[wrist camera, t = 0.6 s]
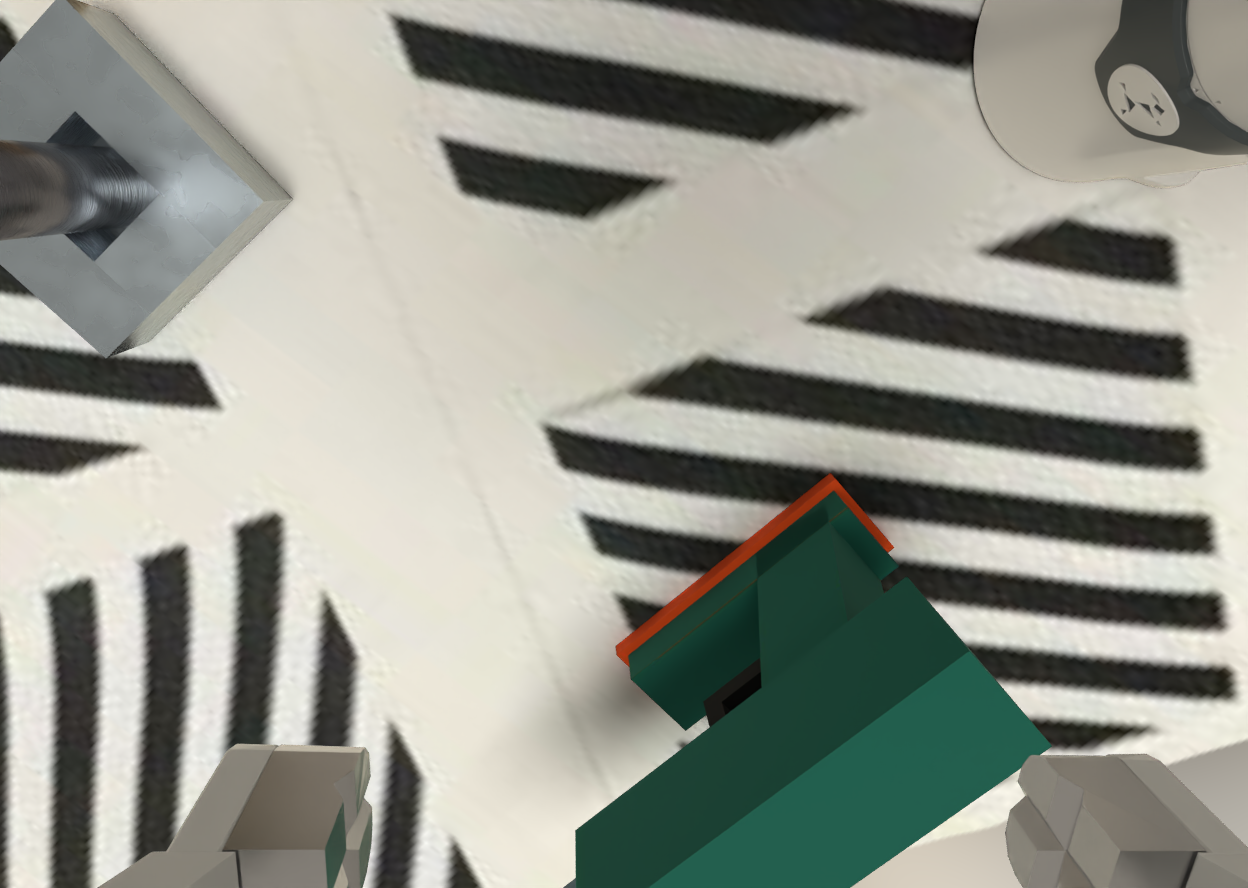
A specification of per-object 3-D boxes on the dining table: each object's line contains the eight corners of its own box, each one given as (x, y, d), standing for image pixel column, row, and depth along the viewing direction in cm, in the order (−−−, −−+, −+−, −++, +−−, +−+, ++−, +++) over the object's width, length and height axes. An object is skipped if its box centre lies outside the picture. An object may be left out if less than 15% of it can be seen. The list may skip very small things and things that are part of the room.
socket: (113, 13, 41) (60, -6, 37) (292, 199, 45) (263, 201, 40) (-34, 175, 43) (-101, 174, 39) (148, 341, 46) (105, 358, 42)
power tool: (541, 819, 59) (526, 1124, 40) (472, 762, 57) (422, 1053, 38) (892, 546, 54) (1069, 746, 35) (830, 472, 52) (980, 642, 33)
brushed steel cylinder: (121, 131, 43) (-129, 104, 27) (182, 191, 44) (-26, 198, 28) (71, 183, 43) (-199, 185, 28) (133, 241, 44) (-96, 274, 29)
